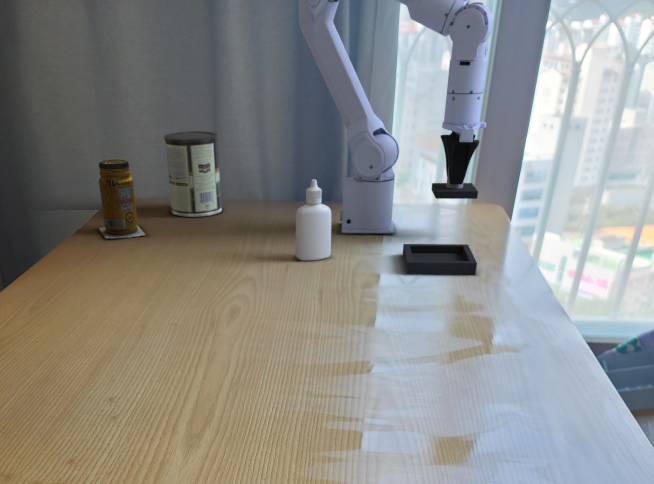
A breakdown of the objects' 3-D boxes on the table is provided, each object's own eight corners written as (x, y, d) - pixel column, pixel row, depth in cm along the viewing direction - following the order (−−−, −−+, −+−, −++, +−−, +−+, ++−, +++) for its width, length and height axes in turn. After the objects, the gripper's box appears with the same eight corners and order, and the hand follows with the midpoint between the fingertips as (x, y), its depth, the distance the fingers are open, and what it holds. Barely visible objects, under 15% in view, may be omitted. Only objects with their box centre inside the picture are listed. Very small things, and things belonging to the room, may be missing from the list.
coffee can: (192, 203, 157) (186, 129, 150) (231, 209, 153) (228, 133, 145) (160, 213, 150) (153, 136, 142) (201, 219, 146) (195, 140, 138)
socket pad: (406, 273, 115) (407, 262, 114) (402, 254, 124) (403, 243, 123) (475, 274, 115) (477, 263, 114) (466, 255, 123) (468, 244, 122)
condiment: (137, 225, 143) (129, 157, 136) (146, 236, 136) (138, 164, 129) (98, 229, 141) (88, 159, 134) (105, 240, 134) (96, 168, 127)
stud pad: (435, 198, 127) (438, 168, 124) (431, 190, 133) (434, 161, 130) (477, 198, 127) (481, 168, 124) (471, 190, 132) (474, 161, 130)
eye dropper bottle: (297, 253, 125) (297, 176, 119) (331, 254, 125) (333, 177, 118) (294, 261, 122) (294, 182, 115) (328, 262, 121) (330, 183, 114)
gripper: (497, 97, 115) (485, 190, 122) (482, 87, 127) (472, 173, 134) (451, 97, 115) (441, 190, 123) (440, 88, 127) (432, 173, 135)
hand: (454, 182), depth 129 cm, fingers closed on stud pad, 3 cm apart
